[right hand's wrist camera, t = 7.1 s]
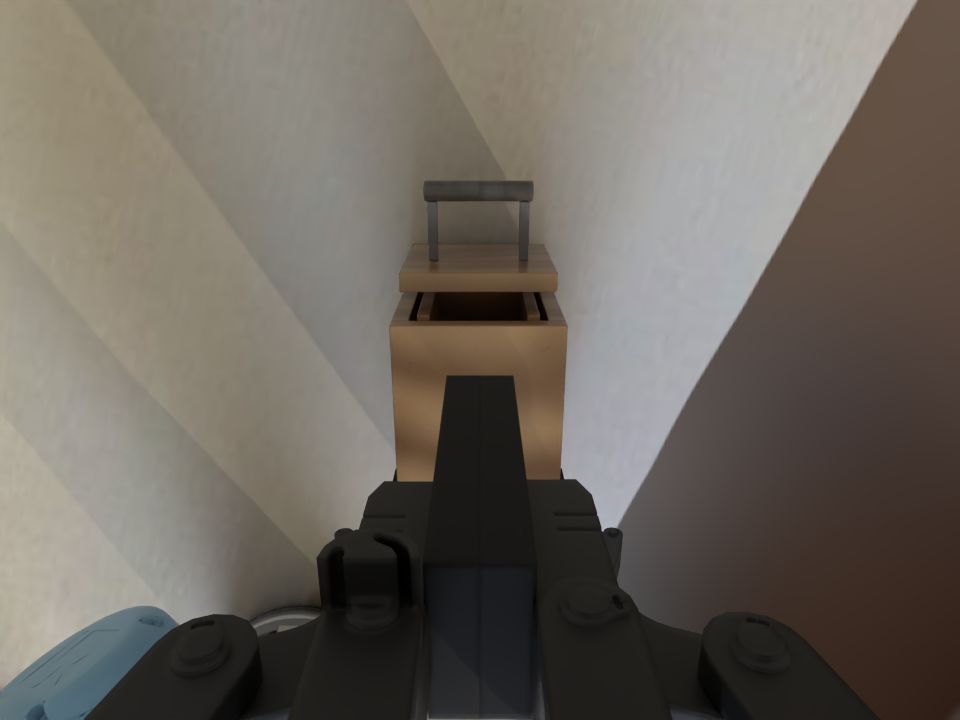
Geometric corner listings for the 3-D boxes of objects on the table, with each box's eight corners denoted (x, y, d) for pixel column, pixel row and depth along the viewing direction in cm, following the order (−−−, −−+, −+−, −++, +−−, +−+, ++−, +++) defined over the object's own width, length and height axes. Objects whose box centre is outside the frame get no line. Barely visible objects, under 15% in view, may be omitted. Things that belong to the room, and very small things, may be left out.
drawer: (411, 173, 47) (395, 187, 38) (546, 173, 47) (561, 187, 38) (420, 444, 54) (409, 509, 45) (536, 444, 54) (548, 509, 45)
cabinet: (408, 280, 50) (388, 325, 40) (548, 280, 50) (567, 325, 40) (416, 483, 57) (401, 570, 46) (541, 483, 57) (555, 570, 46)
